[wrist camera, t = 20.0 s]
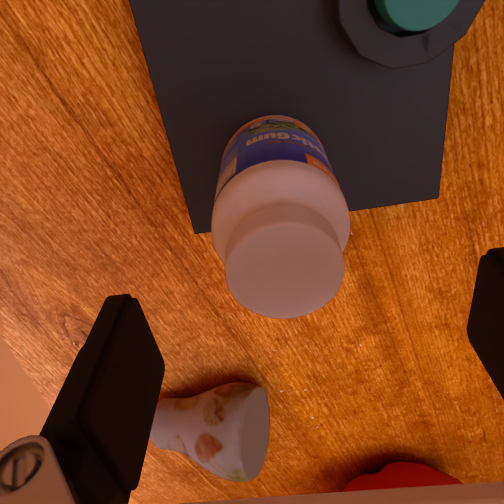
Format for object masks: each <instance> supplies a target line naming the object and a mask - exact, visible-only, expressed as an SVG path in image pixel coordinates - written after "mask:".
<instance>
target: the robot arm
mask: <svg viewBox="0 0 504 504" xmlns="http://www.w3.org/2000/svg"><path fill="white" fill-rule="evenodd" d="M467 335H468V339H469V341H470V343H471V345H472V347H473V348H474V350H475V352H476V353H477V355H478V357H479V359H480V360H481V362H482V364H483V365H484V367H485V369H486V370H487V372H488V374H489V376H490V377H491V379H492V381H493V382H494V384H495V386H496V388H497V389H498V391H499V393H500V394H501V396H502V398H503V400H504V247H502V248H494V249H489V250H488V251H487V254H486V255H483V256H481V258H480V261H479V267H478V272H477V277H476V282H475V288H474V293H473V298H472V304H471V309H470V314H469V320H468V325H467ZM164 372H165V365H164V360H163V358H162V355H161V353H160V351H159V348H158V346H157V344H156V341H155V339H154V337H153V334H152V332H151V329H150V327H149V325H148V322H147V320H146V318H145V315H144V313H143V311H142V308H141V306H140V304H139V301H138V299H136V298H132V297H131V296H130V295H129V294H121V295H113V296H108V297H107V298H106V300H105V302H104V304H103V306H102V308H101V310H100V312H99V314H98V317H97V319H96V321H95V323H94V325H93V327H92V329H91V331H90V334H89V336H88V338H87V340H86V342H85V344H84V346H83V347H82V348H81V349H80V351H79V352H78V355H77V357H76V359H75V361H74V363H73V365H72V367H71V369H70V371H69V373H68V376H67V378H66V380H65V382H64V384H63V386H62V388H61V390H60V392H59V395H58V397H57V399H56V401H55V403H54V405H53V407H52V409H51V411H50V414H49V416H48V418H47V420H46V422H45V424H44V426H43V428H42V430H41V432H40V435H31V436H27V437H23V438H20V439H18V440H16V441H15V442H13V443H11V444H9V445H8V446H7V447H6V448H4V449H3V450H2V451H0V504H128V502H129V498H130V494H131V490H135V489H136V488H137V486H138V483H139V480H140V475H141V471H142V467H143V462H144V458H145V454H146V450H147V445H148V441H149V437H150V432H151V428H152V424H153V420H154V415H155V411H156V407H157V402H158V398H159V394H160V389H161V385H162V381H163V377H164ZM181 504H504V481H501V482H486V483H470V484H454V485H439V486H423V487H407V488H392V489H378V490H363V491H348V492H334V493H319V494H305V495H290V496H276V497H262V498H249V499H235V500H222V501H208V502H195V503H181Z"/></svg>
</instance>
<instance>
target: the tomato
mask: <svg viewBox="0 0 504 504" xmlns="http://www.w3.org/2000/svg"><path fill="white" fill-rule="evenodd" d="M454 484H463V483H461V482H460V481H459V480H458V479H456V478H454V477H452V476H450V475H448V474H445V473H442V472H438V471H436V470H434V469H433V468H431V467H429V466H427V465H425V464H418V463H409V462H394V463H388V464H386V466H385V467H384V468H383V469H382V470H381V471H380V472H376V473H371V474H361V475H359V476H357V477H355V478H353V479H352V480H351V481H349V482H348V484H347V485H346V487H345V488H344V490H343V491H342V492H348V491H363V490H378V489H392V488H407V487H423V486H439V485H454Z"/></svg>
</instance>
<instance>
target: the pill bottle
mask: <svg viewBox="0 0 504 504" xmlns="http://www.w3.org/2000/svg"><path fill="white" fill-rule="evenodd" d="M211 232H212V238H213V243H214V246H215V249H216V251H217V253H218V255H219V257H220V258H221V260H222V261H223V263H224V264H225V278H226V282H227V286H228V288H229V290H230V292H231V294H232V295H233V297H234V298H235V299H236V300H237V301H238V302H239V303H240V304H241V305H242V306H244V307H245V308H246V309H248V310H250V311H252V312H254V313H256V314H259V315H262V316H265V317H270V318H278V319H288V318H296V317H300V316H304V315H307V314H310V313H312V312H314V311H316V310H318V309H320V308H321V307H323V306H324V305H325V304H327V303H328V302H329V301H330V300H331V299H332V298H333V297H334V295H335V294H336V293H337V291H338V290H339V288H340V286H341V284H342V280H343V277H344V270H345V266H344V258H343V254H342V253H343V251H344V249H345V247H346V245H347V242H348V238H349V233H350V216H349V210H348V207H347V204H346V201H345V198H344V196H343V193H342V191H341V189H340V186H339V184H338V182H337V180H336V177H335V175H334V173H333V170H332V168H331V165H330V163H329V161H328V158H327V156H326V153H325V151H324V149H323V146H322V144H321V142H320V141H319V139H318V137H317V136H316V135H315V133H314V132H313V131H312V130H311V129H310V128H309V127H307V126H306V125H305V124H304V123H302V122H300V121H298V120H296V119H293V118H291V117H287V116H281V115H270V116H264V117H260V118H257V119H254V120H252V121H250V122H248V123H247V124H245V125H244V126H242V127H241V128H240V129H239V130H238V131H237V132H236V133H235V134H234V135H233V137H232V138H231V139H230V141H229V143H228V144H227V146H226V149H225V151H224V154H223V157H222V162H221V167H220V173H219V178H218V184H217V189H216V195H215V200H214V207H213V213H212V223H211Z"/></svg>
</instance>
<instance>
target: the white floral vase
mask: <svg viewBox="0 0 504 504" xmlns="http://www.w3.org/2000/svg"><path fill="white" fill-rule="evenodd" d="M269 412H270V411H269V406H268V399H267V395H266V392H265V390H264V389H263V388H262V387H261V386H258V385H254V384H251V383H246V382H233V383H228V384H225V385H221V386H219V387H216V388H214V389H211V390H209V391H206V392H204V393H201V394H199V395H196V396H194V397H190V398H164V399H162V400H161V401H160V402H159V403H158V404H157V407H156V411H155V415H154V420H153V424H152V428H151V432H150V438H151V440H152V441H153V443H154V445H155V446H156V447H158V448H160V449H166V450H172V451H177V452H181V453H183V454H185V455H187V456H188V457H190V458H191V459H193V460H194V461H196V462H197V463H198V464H200V465H201V466H203V467H204V468H206V469H207V470H208V471H210V472H212V473H213V474H215V475H217V476H219V477H221V478H223V479H226V480H229V481H236V482H242V481H249V480H252V479H254V478H256V477H257V476H258V474H259V472H260V471H261V469H262V467H263V464H264V461H265V457H266V453H267V448H268V442H269V433H270V413H269Z"/></svg>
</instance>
